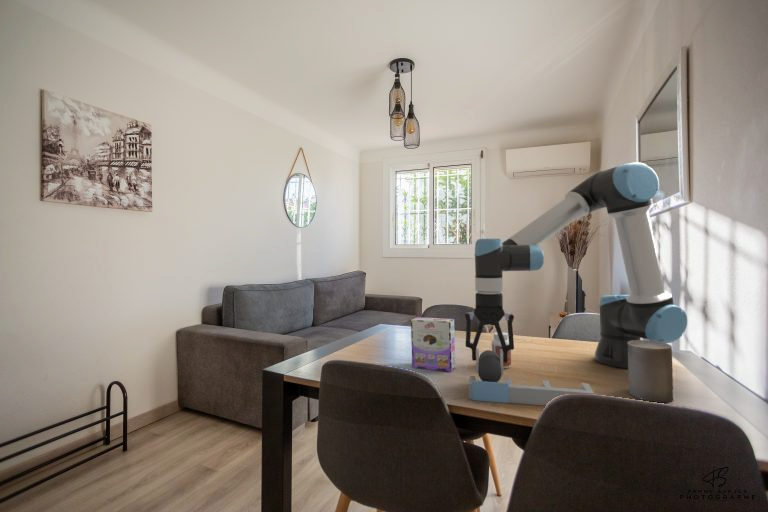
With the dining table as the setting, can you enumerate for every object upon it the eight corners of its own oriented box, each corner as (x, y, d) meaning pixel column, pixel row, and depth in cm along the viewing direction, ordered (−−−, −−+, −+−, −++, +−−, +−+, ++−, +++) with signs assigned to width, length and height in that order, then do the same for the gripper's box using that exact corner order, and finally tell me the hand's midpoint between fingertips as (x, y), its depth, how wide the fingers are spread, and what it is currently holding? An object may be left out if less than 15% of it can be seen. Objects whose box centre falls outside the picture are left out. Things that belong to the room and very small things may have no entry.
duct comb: (588, 398, 99) (587, 379, 98) (595, 410, 91) (595, 389, 91) (470, 389, 107) (469, 371, 107) (468, 399, 100) (468, 380, 100)
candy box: (455, 367, 127) (455, 318, 127) (451, 372, 122) (450, 321, 122) (417, 362, 133) (416, 316, 133) (411, 367, 128) (410, 319, 128)
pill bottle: (515, 366, 126) (514, 333, 126) (502, 370, 123) (502, 336, 123) (500, 362, 132) (499, 330, 132) (488, 365, 128) (487, 333, 128)
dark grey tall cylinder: (479, 369, 113) (479, 349, 113) (500, 371, 112) (500, 350, 111) (478, 383, 102) (478, 360, 101) (501, 384, 100) (501, 362, 100)
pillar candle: (679, 396, 99) (677, 339, 99) (664, 406, 93) (663, 345, 93) (637, 386, 107) (636, 333, 107) (621, 394, 101) (620, 338, 101)
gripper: (522, 291, 110) (523, 370, 110) (456, 290, 115) (457, 366, 115) (525, 294, 103) (525, 379, 103) (454, 293, 108) (455, 374, 108)
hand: (489, 372), depth 109 cm, fingers closed on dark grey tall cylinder, 6 cm apart
